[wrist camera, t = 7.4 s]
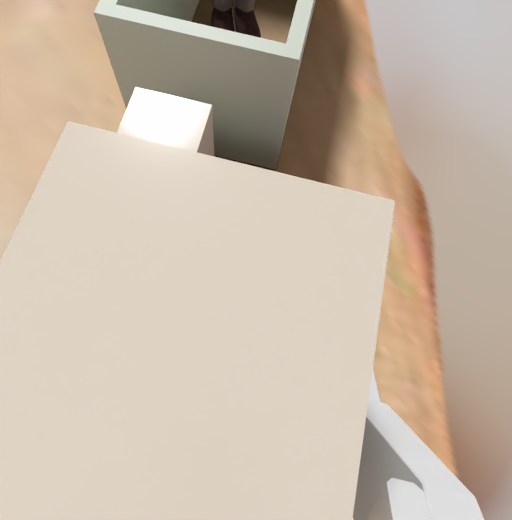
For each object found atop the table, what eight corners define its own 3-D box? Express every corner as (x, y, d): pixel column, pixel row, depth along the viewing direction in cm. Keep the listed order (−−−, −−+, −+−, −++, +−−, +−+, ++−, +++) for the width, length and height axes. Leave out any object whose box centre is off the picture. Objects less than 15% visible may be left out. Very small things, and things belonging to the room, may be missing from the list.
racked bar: (152, 244, 30) (108, 151, 19) (167, 198, 32) (135, 86, 21) (203, 256, 30) (190, 170, 19) (216, 209, 32) (212, 104, 20)
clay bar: (148, 422, 15) (-112, 491, 3) (180, 317, 16) (68, 121, 5) (254, 449, 15) (341, 609, 3) (277, 341, 16) (395, 200, 5)
